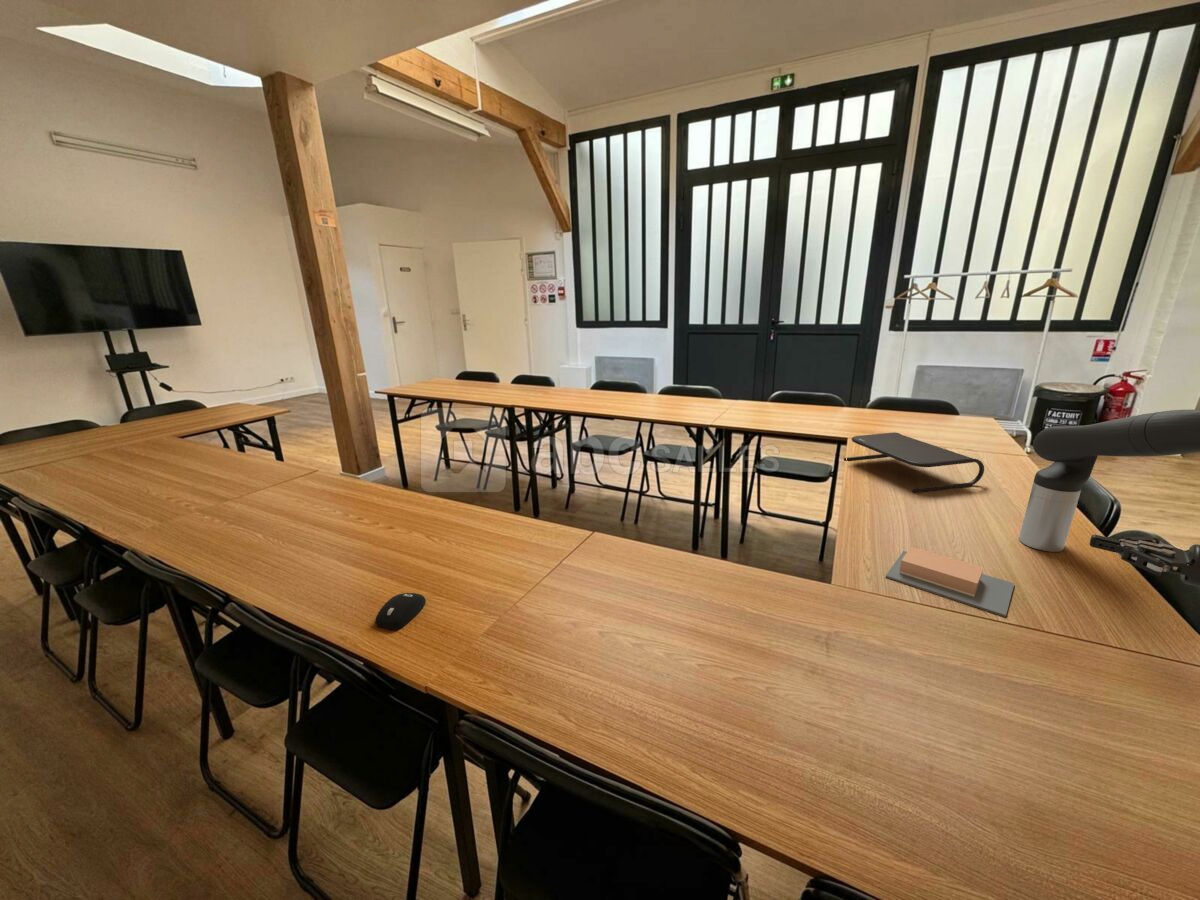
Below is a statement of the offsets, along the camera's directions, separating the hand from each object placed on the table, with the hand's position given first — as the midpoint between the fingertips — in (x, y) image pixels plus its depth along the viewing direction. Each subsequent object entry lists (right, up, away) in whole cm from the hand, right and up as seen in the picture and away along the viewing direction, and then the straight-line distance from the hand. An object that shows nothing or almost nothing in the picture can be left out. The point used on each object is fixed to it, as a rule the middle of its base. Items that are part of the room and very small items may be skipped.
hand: (1090, 540), depth 96 cm
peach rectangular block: (-11, -13, +15) cm, 22 cm away
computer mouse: (-144, -20, +14) cm, 147 cm away
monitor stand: (+20, +9, +89) cm, 92 cm away
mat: (-15, -14, +19) cm, 28 cm away
